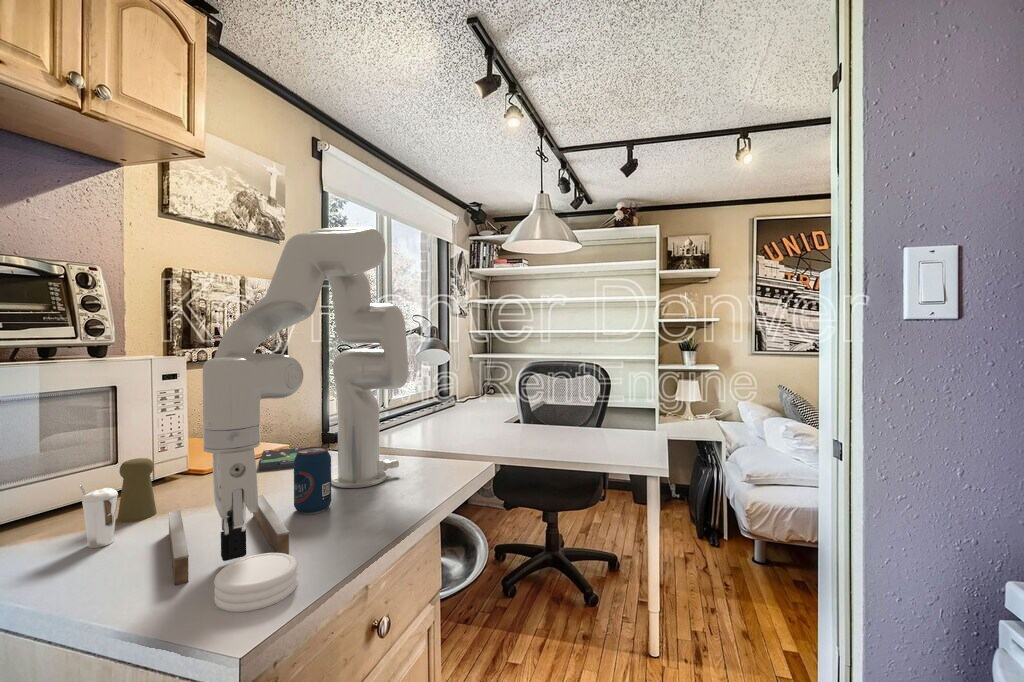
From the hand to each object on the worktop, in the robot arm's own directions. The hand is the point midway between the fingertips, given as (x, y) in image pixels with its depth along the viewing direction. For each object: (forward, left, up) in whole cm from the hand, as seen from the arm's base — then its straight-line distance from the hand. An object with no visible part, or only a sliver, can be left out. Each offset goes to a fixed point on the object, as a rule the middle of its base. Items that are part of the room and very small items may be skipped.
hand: (233, 556), depth 73 cm
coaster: (-1, +12, -1) cm, 12 cm away
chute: (0, -8, -1) cm, 8 cm away
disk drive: (-19, -59, -2) cm, 62 cm away
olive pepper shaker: (+12, -33, -1) cm, 35 cm away
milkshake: (+17, -21, -1) cm, 27 cm away
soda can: (-16, -16, -1) cm, 23 cm away
